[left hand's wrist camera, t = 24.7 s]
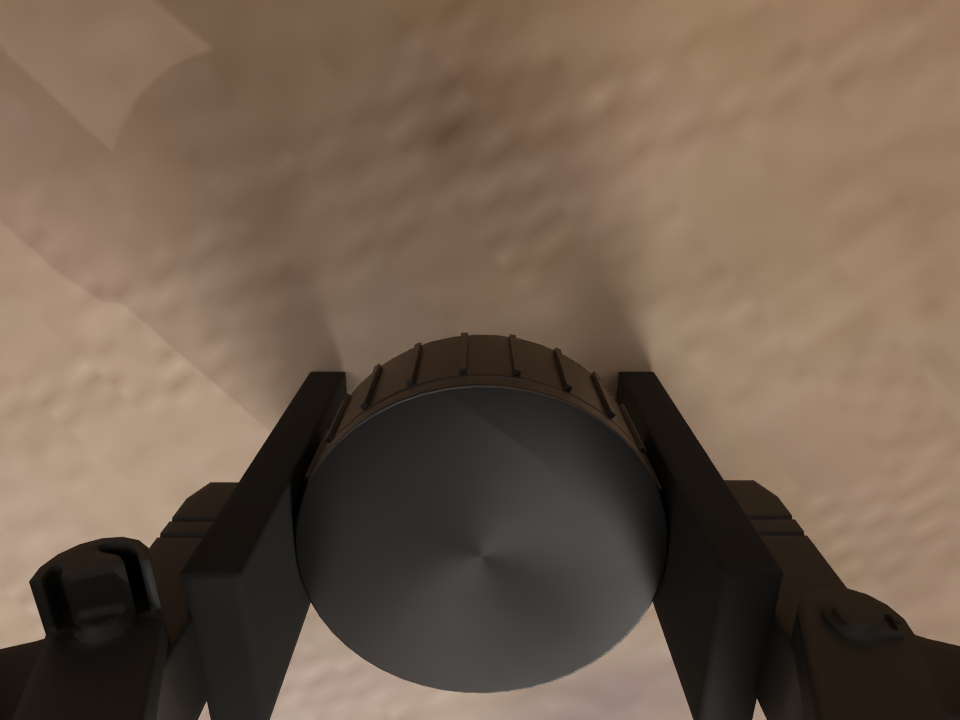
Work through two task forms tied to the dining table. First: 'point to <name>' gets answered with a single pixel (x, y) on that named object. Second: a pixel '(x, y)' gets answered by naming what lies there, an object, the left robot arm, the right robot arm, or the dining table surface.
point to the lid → (481, 517)
